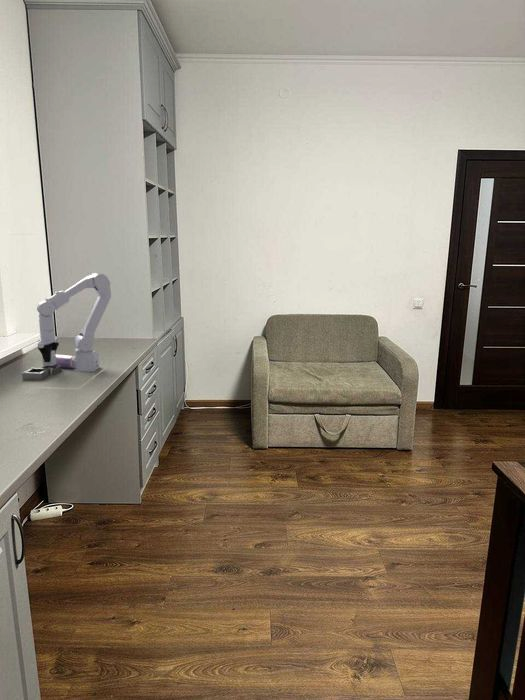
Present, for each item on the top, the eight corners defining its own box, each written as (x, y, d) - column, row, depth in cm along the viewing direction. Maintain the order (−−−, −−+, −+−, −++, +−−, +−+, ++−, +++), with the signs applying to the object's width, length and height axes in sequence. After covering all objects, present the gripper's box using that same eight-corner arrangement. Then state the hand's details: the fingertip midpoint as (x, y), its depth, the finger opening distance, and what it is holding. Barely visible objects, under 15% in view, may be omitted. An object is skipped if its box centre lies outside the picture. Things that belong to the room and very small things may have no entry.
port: (50, 376, 205) (50, 367, 204) (41, 381, 197) (41, 372, 196) (32, 375, 205) (31, 367, 204) (22, 381, 197) (21, 372, 197)
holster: (61, 371, 212) (60, 365, 212) (54, 376, 206) (53, 369, 205) (46, 371, 213) (46, 364, 212) (39, 375, 206) (38, 368, 205)
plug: (56, 363, 210) (55, 348, 209) (52, 365, 206) (50, 350, 205) (47, 363, 210) (46, 348, 209) (43, 365, 206) (41, 350, 205)
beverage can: (41, 367, 217) (71, 370, 214) (41, 354, 217) (71, 357, 213) (50, 365, 223) (79, 368, 220) (50, 352, 222) (79, 355, 219)
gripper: (45, 326, 212) (48, 356, 215) (29, 332, 198) (32, 364, 201) (61, 326, 212) (63, 356, 215) (46, 333, 198) (49, 365, 201)
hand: (49, 360), depth 208 cm, fingers closed on plug, 4 cm apart
